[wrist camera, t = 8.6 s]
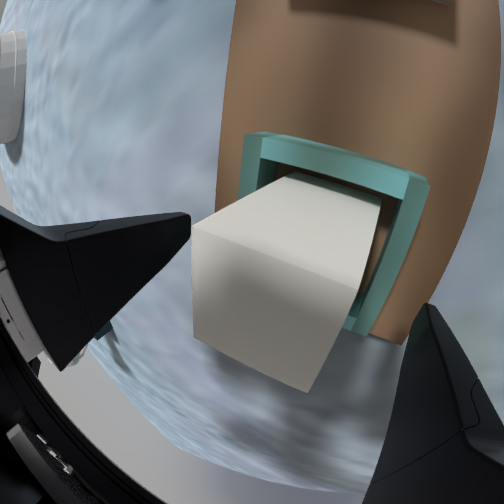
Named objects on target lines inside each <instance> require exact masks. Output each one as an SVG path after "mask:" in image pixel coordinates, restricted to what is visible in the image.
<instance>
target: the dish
mask: <svg viewBox="0 0 504 504" xmlns="http://www.w3.org/2000/svg"><path fill="white" fill-rule="evenodd" d="M26 64H27V44H26V36H25V32H24V31H23V30H22V29H19V30H12V31H10V32H6V33H0V144H6V143H8V142H11V141H14V140H15V138H16V137H17V135H18V131H19V128H20V123H21V117H22V110H23V102H24V91H25V81H26Z"/></svg>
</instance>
